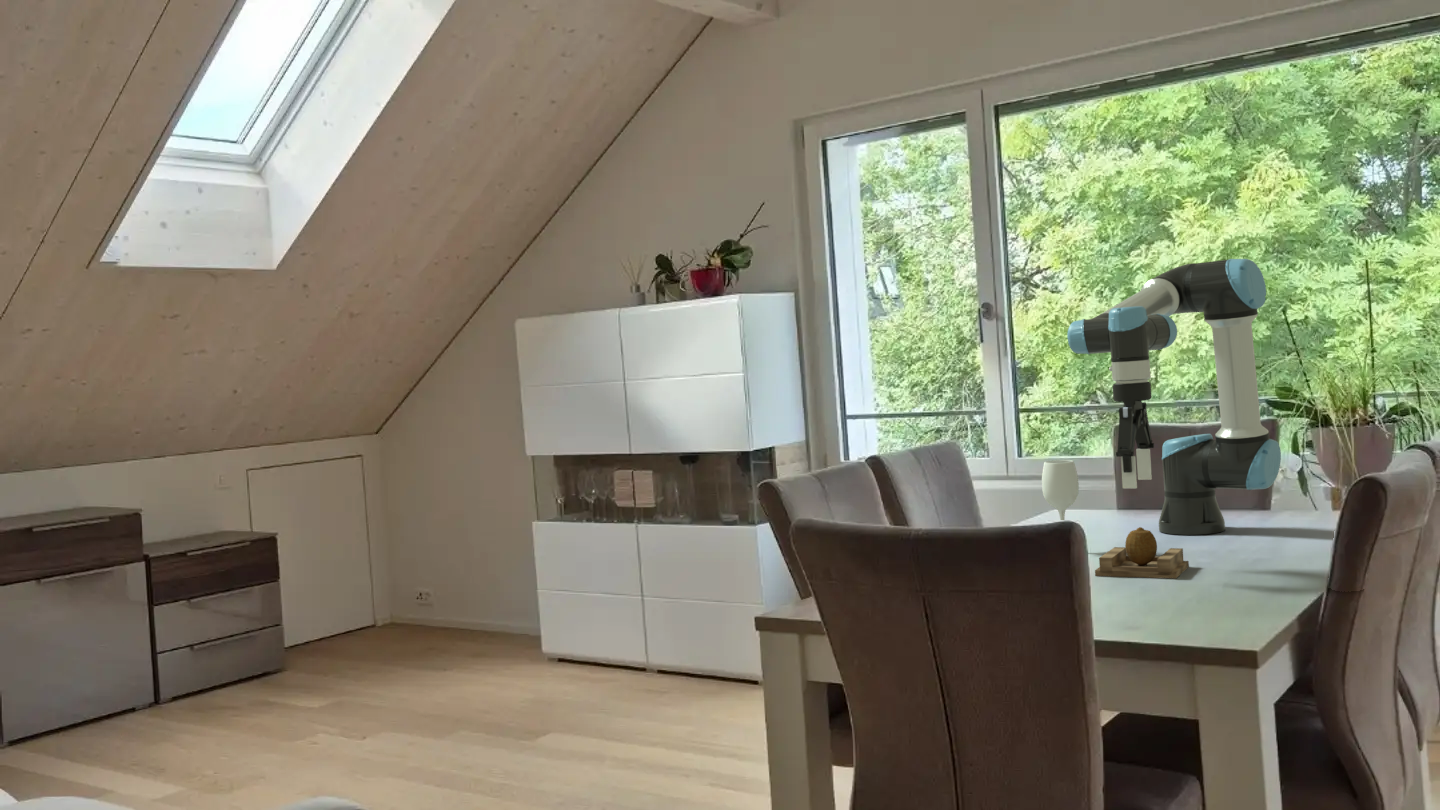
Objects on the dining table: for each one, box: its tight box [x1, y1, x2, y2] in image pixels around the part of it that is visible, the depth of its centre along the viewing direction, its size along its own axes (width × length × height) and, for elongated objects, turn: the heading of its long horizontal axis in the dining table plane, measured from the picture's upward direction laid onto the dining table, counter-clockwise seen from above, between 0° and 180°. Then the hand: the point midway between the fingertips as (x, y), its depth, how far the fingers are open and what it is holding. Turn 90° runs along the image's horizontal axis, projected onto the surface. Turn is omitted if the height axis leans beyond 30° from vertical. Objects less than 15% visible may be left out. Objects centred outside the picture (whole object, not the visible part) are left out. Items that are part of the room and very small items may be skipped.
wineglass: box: [1041, 459, 1080, 521], centre depth 288 cm, size 9×9×21 cm
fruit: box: [1124, 526, 1158, 566], centre depth 259 cm, size 6×6×8 cm
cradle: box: [1094, 546, 1190, 579], centre depth 259 cm, size 13×16×4 cm
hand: (1137, 484), depth 258 cm, fingers open, 13 cm apart
